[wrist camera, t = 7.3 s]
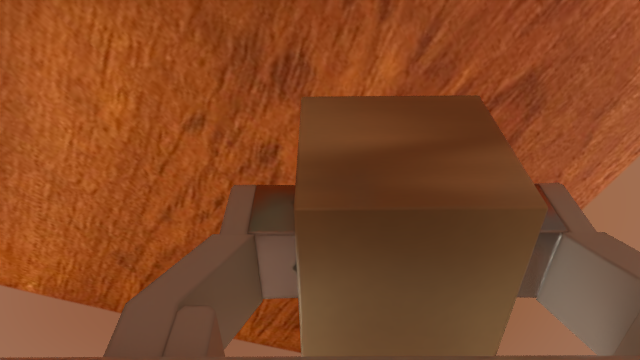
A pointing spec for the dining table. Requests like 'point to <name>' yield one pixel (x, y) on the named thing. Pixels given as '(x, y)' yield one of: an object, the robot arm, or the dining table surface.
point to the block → (408, 226)
